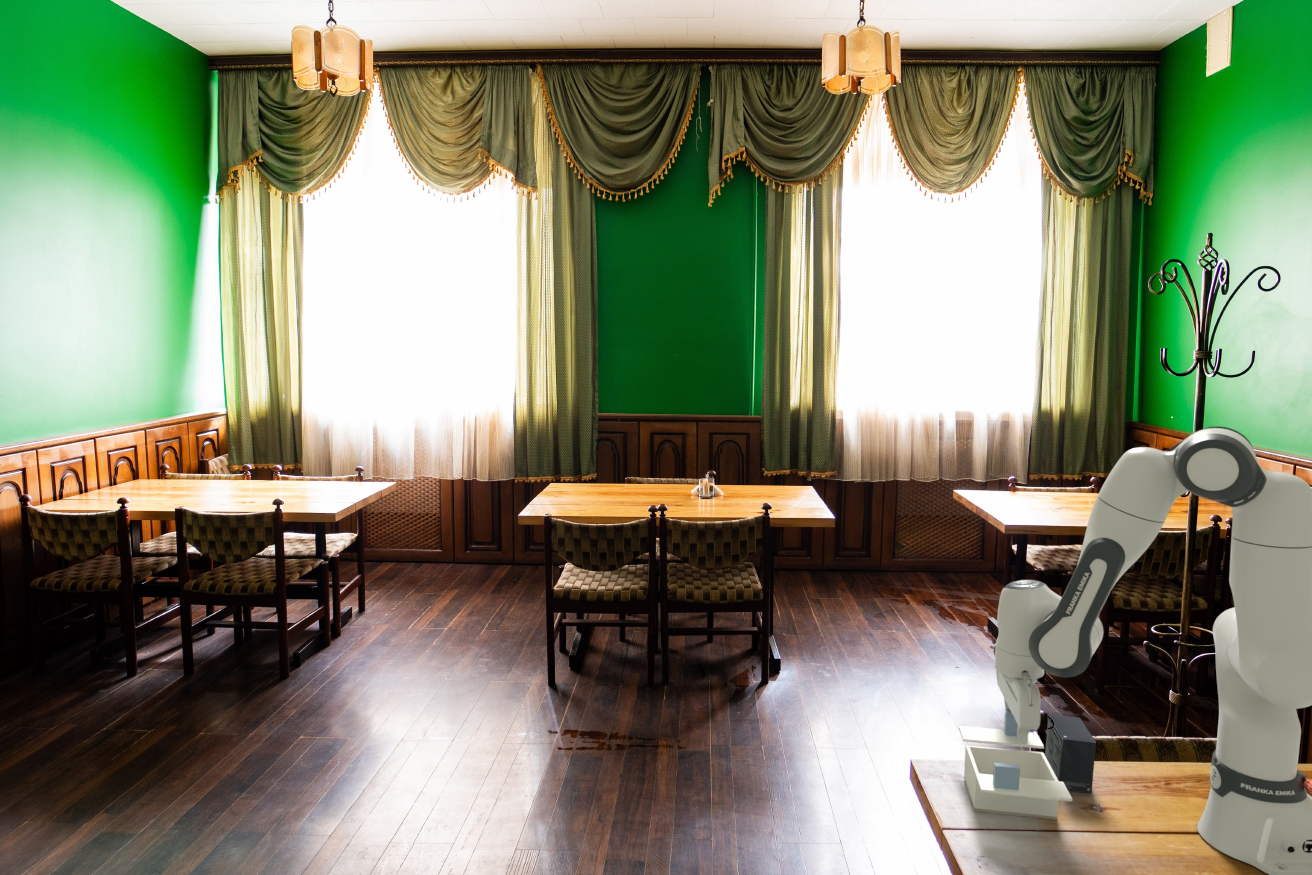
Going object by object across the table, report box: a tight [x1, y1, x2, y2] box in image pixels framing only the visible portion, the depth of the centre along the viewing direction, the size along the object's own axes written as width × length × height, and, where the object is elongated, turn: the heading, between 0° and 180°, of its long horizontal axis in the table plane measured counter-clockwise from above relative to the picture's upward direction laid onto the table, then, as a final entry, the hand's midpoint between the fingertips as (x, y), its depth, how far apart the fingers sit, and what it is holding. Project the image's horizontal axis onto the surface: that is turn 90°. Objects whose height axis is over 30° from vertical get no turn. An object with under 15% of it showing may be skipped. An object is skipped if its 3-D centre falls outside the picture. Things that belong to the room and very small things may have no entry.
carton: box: [963, 744, 1060, 821], centre depth 152 cm, size 14×11×7 cm
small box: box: [1044, 713, 1097, 794], centre depth 159 cm, size 11×6×10 cm, turn 168°
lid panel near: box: [975, 763, 1073, 802], centre depth 142 cm, size 15×5×4 cm, turn 79°
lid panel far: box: [958, 712, 1045, 750], centre depth 160 cm, size 15×5×4 cm, turn 79°
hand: (1015, 729), depth 160 cm, fingers open, 8 cm apart
